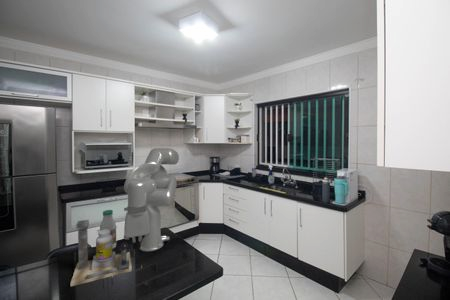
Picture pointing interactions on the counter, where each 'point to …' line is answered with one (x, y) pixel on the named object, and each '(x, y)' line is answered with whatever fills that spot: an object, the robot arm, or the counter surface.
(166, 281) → the counter surface
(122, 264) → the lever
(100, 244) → the supplement bottle
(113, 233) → the milk bottle
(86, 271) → the press
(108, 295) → the counter surface
